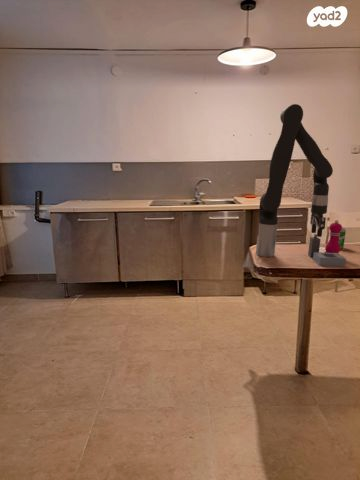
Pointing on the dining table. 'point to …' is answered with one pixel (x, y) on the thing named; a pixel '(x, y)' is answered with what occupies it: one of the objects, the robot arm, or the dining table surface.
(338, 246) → the pepper mill
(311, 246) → the block
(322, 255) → the socket box
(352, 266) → the dining table surface
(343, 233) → the soda can
